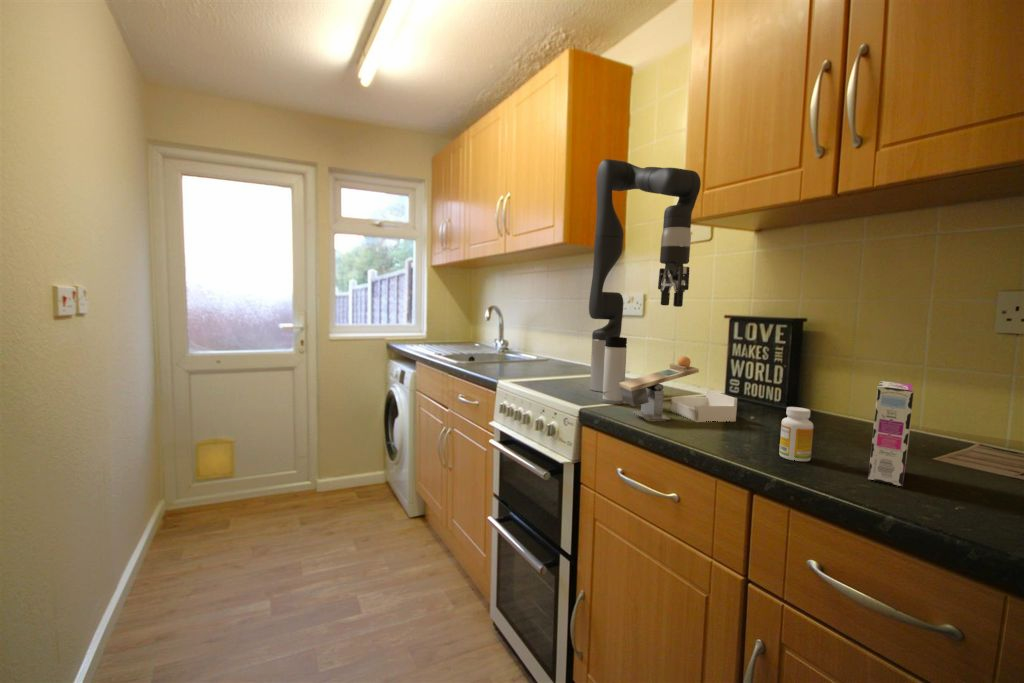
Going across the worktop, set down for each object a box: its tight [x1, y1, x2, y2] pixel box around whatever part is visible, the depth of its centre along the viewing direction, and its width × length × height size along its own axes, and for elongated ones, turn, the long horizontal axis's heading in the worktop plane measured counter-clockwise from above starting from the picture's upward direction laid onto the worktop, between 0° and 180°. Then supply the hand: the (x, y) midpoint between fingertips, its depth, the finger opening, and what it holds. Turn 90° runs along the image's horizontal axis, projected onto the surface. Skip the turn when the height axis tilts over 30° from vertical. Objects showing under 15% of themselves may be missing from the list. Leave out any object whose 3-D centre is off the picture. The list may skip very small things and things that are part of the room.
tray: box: [670, 389, 738, 423], centre depth 126 cm, size 12×11×6 cm
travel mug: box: [602, 336, 628, 405], centre depth 140 cm, size 6×7×20 cm
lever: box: [619, 363, 700, 407], centre depth 123 cm, size 19×7×6 cm, turn 101°
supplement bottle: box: [778, 406, 814, 462], centre depth 93 cm, size 5×5×10 cm
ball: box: [677, 355, 692, 368], centre depth 124 cm, size 3×3×3 cm
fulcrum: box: [632, 383, 672, 422], centre depth 123 cm, size 9×6×9 cm, turn 11°
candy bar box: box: [867, 380, 915, 487], centre depth 83 cm, size 11×5×16 cm, turn 141°
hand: (671, 306), depth 129 cm, fingers open, 8 cm apart
